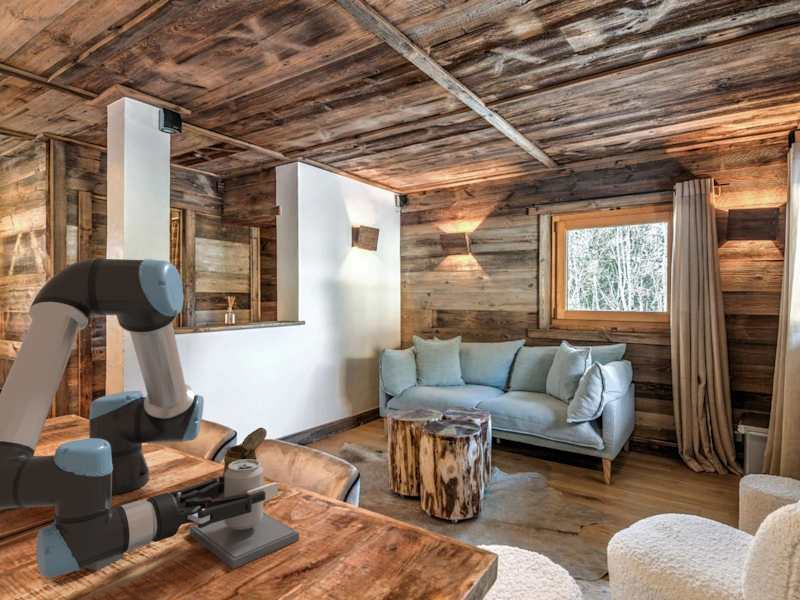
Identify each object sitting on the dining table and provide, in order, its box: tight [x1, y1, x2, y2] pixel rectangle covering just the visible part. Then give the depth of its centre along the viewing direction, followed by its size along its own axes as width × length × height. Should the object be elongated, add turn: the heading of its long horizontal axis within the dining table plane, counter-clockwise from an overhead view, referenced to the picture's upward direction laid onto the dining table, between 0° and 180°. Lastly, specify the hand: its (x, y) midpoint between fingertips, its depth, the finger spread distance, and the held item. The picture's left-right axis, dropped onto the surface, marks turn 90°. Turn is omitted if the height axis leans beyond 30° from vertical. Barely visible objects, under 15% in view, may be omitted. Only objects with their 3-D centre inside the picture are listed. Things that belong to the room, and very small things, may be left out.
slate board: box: [189, 511, 300, 570], centre depth 95 cm, size 18×14×2 cm
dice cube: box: [85, 553, 125, 572], centre depth 86 cm, size 5×5×5 cm
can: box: [224, 459, 264, 530], centre depth 95 cm, size 8×8×12 cm
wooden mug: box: [218, 427, 268, 498], centre depth 115 cm, size 9×14×18 cm, turn 50°
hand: (265, 483), depth 99 cm, fingers closed on can, 7 cm apart
